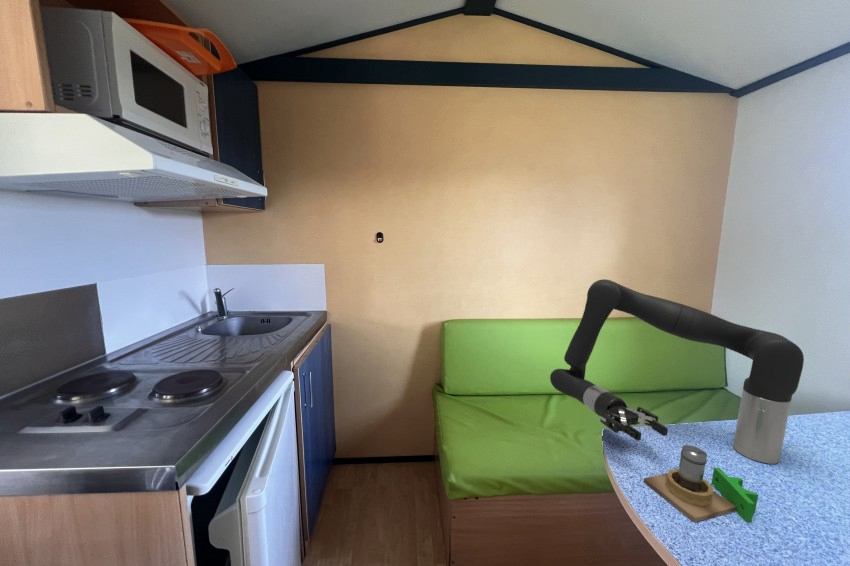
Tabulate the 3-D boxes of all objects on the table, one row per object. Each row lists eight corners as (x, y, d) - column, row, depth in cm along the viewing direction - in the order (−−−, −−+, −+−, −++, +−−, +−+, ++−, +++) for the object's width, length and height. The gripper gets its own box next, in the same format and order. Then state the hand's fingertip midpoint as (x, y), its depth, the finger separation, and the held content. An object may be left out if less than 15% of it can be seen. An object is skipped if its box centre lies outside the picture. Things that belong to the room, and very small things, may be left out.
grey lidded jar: (685, 482, 82) (692, 443, 80) (705, 497, 78) (713, 456, 76) (670, 485, 81) (676, 446, 79) (689, 500, 76) (697, 459, 75)
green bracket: (765, 525, 72) (769, 506, 71) (745, 522, 72) (748, 503, 72) (728, 486, 83) (731, 468, 82) (711, 484, 83) (714, 466, 83)
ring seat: (681, 473, 86) (683, 460, 86) (735, 510, 75) (738, 496, 75) (643, 482, 83) (645, 468, 83) (694, 522, 72) (696, 507, 71)
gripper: (584, 394, 100) (632, 424, 84) (624, 388, 104) (677, 417, 88) (582, 418, 101) (629, 453, 86) (621, 412, 105) (673, 444, 90)
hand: (653, 434), depth 87 cm, fingers open, 8 cm apart
